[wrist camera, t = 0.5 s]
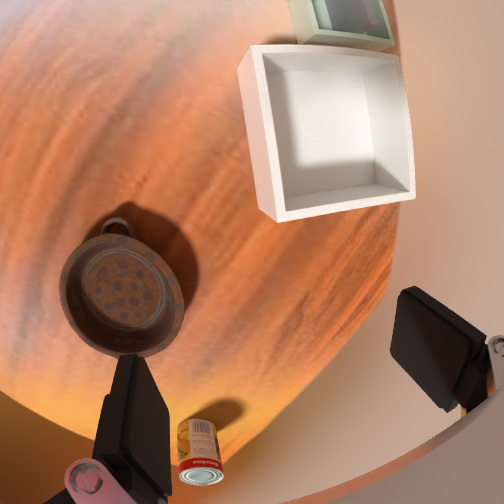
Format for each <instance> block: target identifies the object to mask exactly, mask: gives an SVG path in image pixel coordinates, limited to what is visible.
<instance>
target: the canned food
mask: <svg viewBox="0 0 504 504" xmlns="http://www.w3.org/2000/svg"><path fill="white" fill-rule="evenodd" d="M177 442H178V462H179V477H180V479H181V480H182V481H184V482H185V483H188V484H192V485H210V484H214V483H217V482H219V481H220V480H222V479H223V477H224V474H223V468H222V463H221V457H220V451H219V445H218V439H217V433H216V428H215V425H214V424H213V423H212V422H210V421H208V420H205V419H199V418H193V419H187V420H184V421H183V422H181V423H180V424H179V425H178V427H177Z"/></svg>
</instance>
